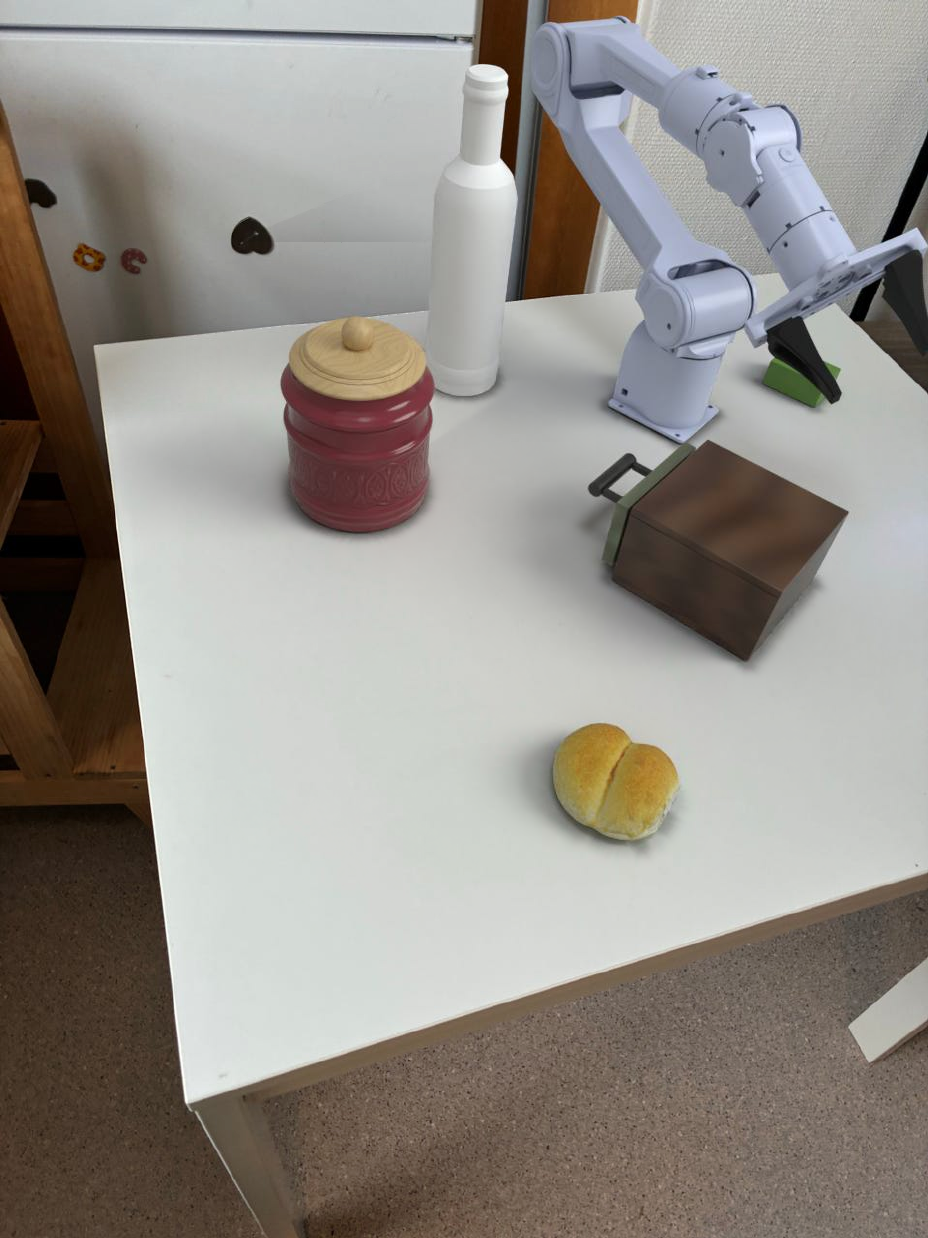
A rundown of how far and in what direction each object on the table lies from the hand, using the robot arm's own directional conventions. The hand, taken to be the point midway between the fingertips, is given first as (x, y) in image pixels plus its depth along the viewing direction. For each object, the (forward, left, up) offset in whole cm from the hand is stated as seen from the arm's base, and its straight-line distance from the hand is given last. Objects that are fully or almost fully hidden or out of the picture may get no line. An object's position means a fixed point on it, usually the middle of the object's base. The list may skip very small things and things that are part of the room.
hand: (882, 375), depth 72 cm
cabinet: (-4, -11, -18) cm, 21 cm away
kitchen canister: (-34, -24, -18) cm, 46 cm away
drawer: (-8, -11, -17) cm, 22 cm away
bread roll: (+2, -35, -18) cm, 40 cm away
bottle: (-39, -3, -18) cm, 44 cm away
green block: (-11, +23, -18) cm, 31 cm away
